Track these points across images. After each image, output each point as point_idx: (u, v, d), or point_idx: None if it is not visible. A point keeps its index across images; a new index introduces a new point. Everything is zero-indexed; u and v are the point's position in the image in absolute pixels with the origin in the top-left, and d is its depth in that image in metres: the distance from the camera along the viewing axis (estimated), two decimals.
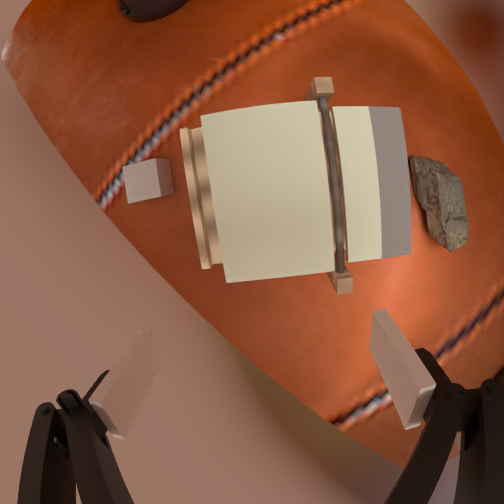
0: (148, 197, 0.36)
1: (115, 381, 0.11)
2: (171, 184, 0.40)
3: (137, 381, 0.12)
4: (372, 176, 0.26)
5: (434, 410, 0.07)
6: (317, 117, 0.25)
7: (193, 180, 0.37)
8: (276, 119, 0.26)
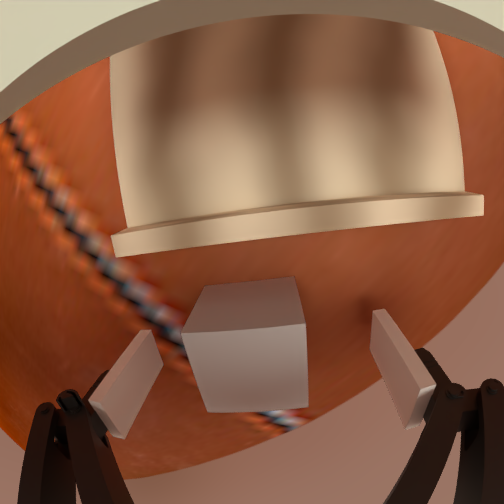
0: (301, 359, 0.12)
1: (115, 381, 0.11)
2: (270, 283, 0.16)
3: (137, 381, 0.12)
4: None
5: (434, 410, 0.07)
6: None
7: (260, 217, 0.12)
8: None
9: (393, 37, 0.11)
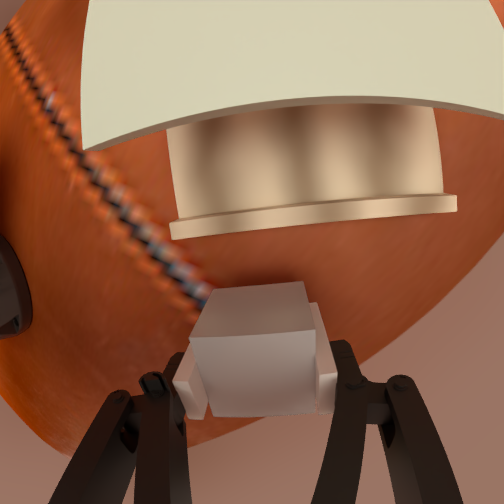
0: (310, 365, 0.12)
1: None
2: (279, 288, 0.16)
3: None
4: None
5: (336, 402, 0.08)
6: None
7: (284, 211, 0.17)
8: None
9: None
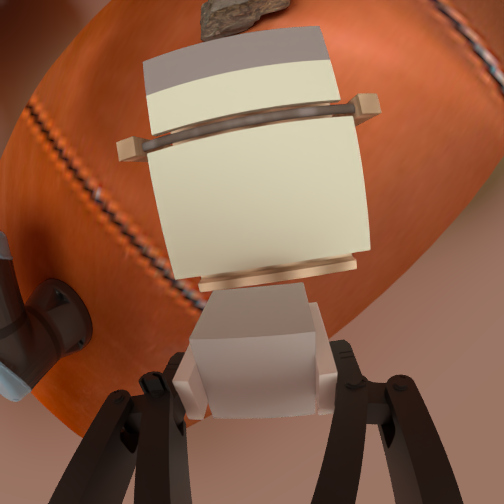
0: (310, 367, 0.11)
1: None
2: (278, 290, 0.16)
3: None
4: (228, 78, 0.20)
5: (336, 402, 0.08)
6: (166, 150, 0.22)
7: (256, 277, 0.35)
8: (172, 195, 0.23)
9: None
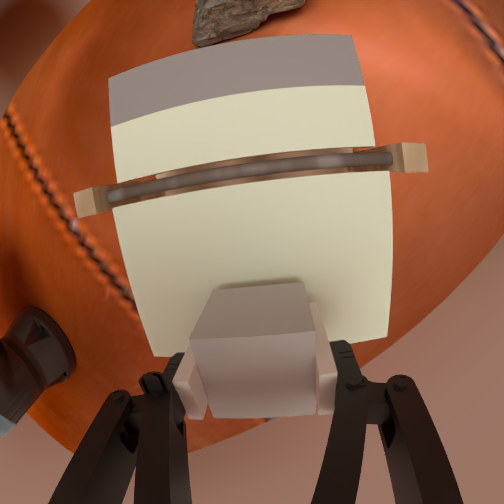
0: (310, 367, 0.11)
1: None
2: (279, 289, 0.16)
3: None
4: (220, 106, 0.15)
5: (336, 402, 0.08)
6: (135, 205, 0.17)
7: None
8: (145, 265, 0.18)
9: None
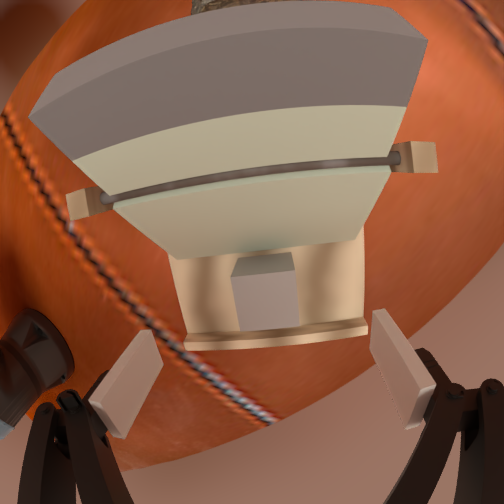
0: None
1: (115, 381, 0.11)
2: (278, 280, 0.23)
3: (137, 381, 0.12)
4: (211, 129, 0.11)
5: (434, 410, 0.07)
6: (136, 205, 0.17)
7: (250, 341, 0.29)
8: (160, 229, 0.21)
9: None
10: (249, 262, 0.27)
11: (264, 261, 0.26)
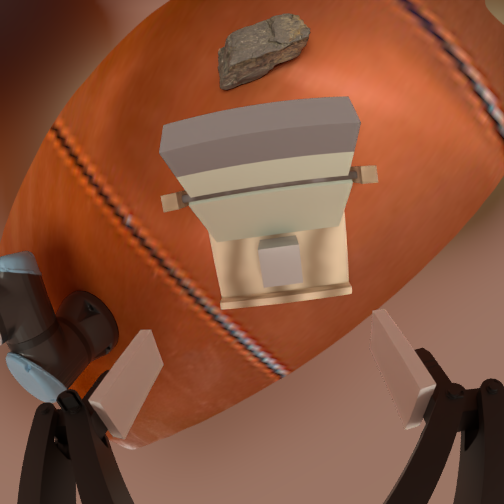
0: None
1: (115, 381, 0.11)
2: (288, 251, 0.36)
3: (137, 381, 0.12)
4: (257, 166, 0.25)
5: (434, 410, 0.07)
6: (205, 203, 0.30)
7: (269, 299, 0.42)
8: (213, 219, 0.34)
9: None
10: (268, 242, 0.40)
11: (278, 240, 0.40)
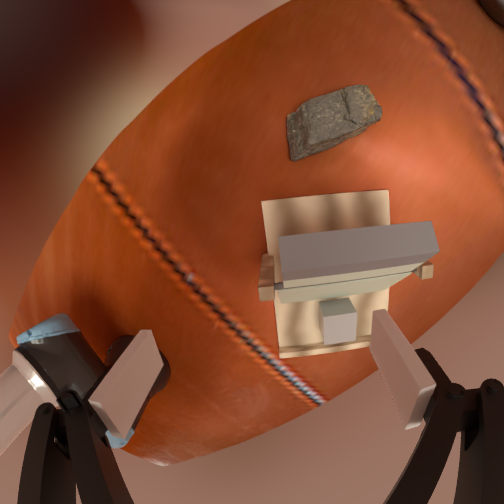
0: None
1: (115, 381, 0.11)
2: (348, 317, 0.41)
3: (137, 381, 0.12)
4: (352, 273, 0.29)
5: (434, 410, 0.07)
6: (293, 289, 0.35)
7: (322, 349, 0.47)
8: (291, 295, 0.39)
9: None
10: (328, 305, 0.44)
11: (336, 305, 0.44)
